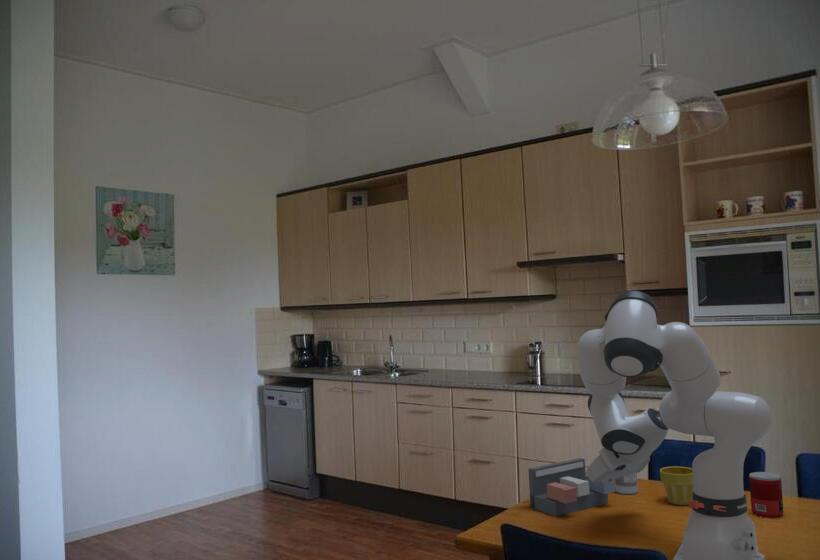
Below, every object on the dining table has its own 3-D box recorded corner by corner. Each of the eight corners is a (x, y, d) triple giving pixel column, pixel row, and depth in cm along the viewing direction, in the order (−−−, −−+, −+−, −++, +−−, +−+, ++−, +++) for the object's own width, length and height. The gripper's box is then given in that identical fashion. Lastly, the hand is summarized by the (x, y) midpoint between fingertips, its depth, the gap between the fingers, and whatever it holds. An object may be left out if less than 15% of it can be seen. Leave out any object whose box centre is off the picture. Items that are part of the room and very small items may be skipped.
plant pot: (657, 504, 200) (655, 471, 201) (667, 495, 208) (665, 464, 209) (693, 509, 194) (691, 475, 194) (701, 500, 202) (699, 468, 203)
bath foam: (616, 488, 219) (612, 428, 220) (638, 489, 217) (634, 428, 218) (615, 494, 213) (611, 432, 214) (637, 495, 210) (633, 432, 212)
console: (608, 502, 204) (605, 463, 204) (555, 516, 192) (553, 475, 193) (582, 495, 213) (580, 458, 214) (530, 508, 202) (528, 468, 202)
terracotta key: (577, 501, 192) (576, 487, 192) (565, 504, 190) (564, 490, 190) (557, 495, 199) (556, 481, 199) (546, 498, 197) (545, 484, 197)
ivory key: (589, 494, 199) (588, 481, 199) (578, 497, 196) (577, 483, 196) (570, 488, 206) (569, 475, 206) (559, 491, 203) (558, 478, 203)
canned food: (787, 518, 182) (784, 478, 182) (756, 518, 183) (753, 478, 184) (778, 510, 189) (775, 471, 190) (748, 509, 191) (745, 471, 191)
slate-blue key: (615, 491, 200) (614, 478, 201) (604, 494, 198) (603, 480, 198) (594, 486, 207) (594, 473, 208) (584, 488, 205) (583, 475, 205)
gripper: (648, 439, 191) (624, 467, 199) (596, 449, 181) (573, 478, 189) (661, 457, 187) (637, 485, 195) (609, 469, 177) (586, 497, 185)
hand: (605, 482), depth 192 cm, fingers closed
